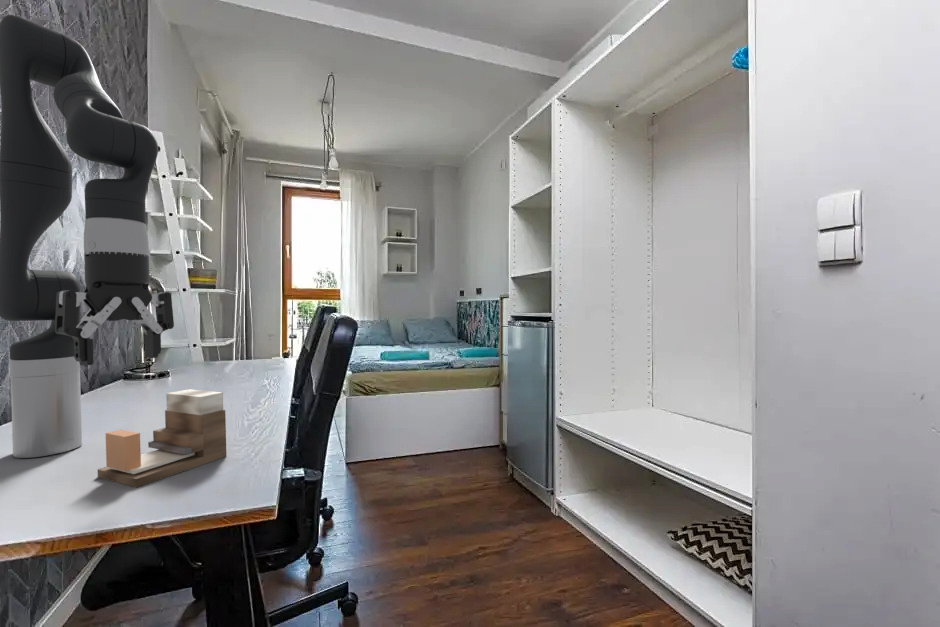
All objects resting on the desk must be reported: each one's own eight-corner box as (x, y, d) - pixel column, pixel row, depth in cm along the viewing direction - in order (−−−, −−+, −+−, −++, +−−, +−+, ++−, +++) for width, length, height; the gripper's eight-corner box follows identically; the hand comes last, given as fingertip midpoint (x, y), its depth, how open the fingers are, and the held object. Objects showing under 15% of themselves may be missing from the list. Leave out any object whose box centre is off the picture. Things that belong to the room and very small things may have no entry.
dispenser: (97, 477, 67) (95, 405, 67) (189, 449, 80) (187, 389, 80) (136, 487, 63) (134, 410, 63) (226, 456, 76) (224, 392, 75)
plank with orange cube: (102, 468, 66) (101, 432, 66) (168, 449, 75) (167, 417, 75) (129, 475, 63) (128, 437, 63) (194, 454, 72) (193, 421, 72)
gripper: (153, 258, 73) (156, 355, 74) (42, 249, 60) (46, 366, 61) (182, 255, 70) (184, 356, 70) (71, 245, 57) (75, 369, 58)
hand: (120, 361), depth 66 cm, fingers open, 8 cm apart
